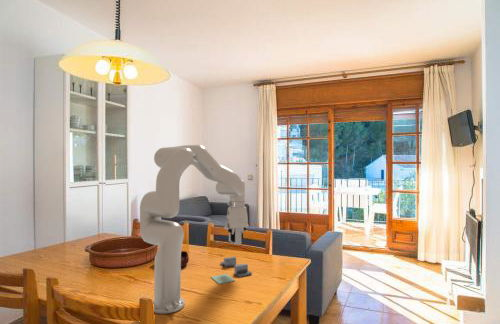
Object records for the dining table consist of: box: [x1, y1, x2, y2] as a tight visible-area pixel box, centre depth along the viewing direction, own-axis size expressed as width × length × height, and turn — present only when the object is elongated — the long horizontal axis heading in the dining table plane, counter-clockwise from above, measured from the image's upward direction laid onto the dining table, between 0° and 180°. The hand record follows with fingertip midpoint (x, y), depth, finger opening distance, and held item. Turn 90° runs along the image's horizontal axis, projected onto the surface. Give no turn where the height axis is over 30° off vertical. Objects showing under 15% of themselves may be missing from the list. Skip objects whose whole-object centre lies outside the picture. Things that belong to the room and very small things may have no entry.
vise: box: [220, 256, 253, 278], centre depth 153 cm, size 21×7×4 cm, turn 29°
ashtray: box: [181, 250, 190, 268], centre depth 161 cm, size 18×16×5 cm
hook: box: [228, 228, 242, 246], centre depth 153 cm, size 8×4×8 cm, turn 30°
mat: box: [210, 273, 236, 285], centre depth 140 cm, size 9×8×1 cm
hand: (236, 240), depth 151 cm, fingers closed on hook, 3 cm apart
